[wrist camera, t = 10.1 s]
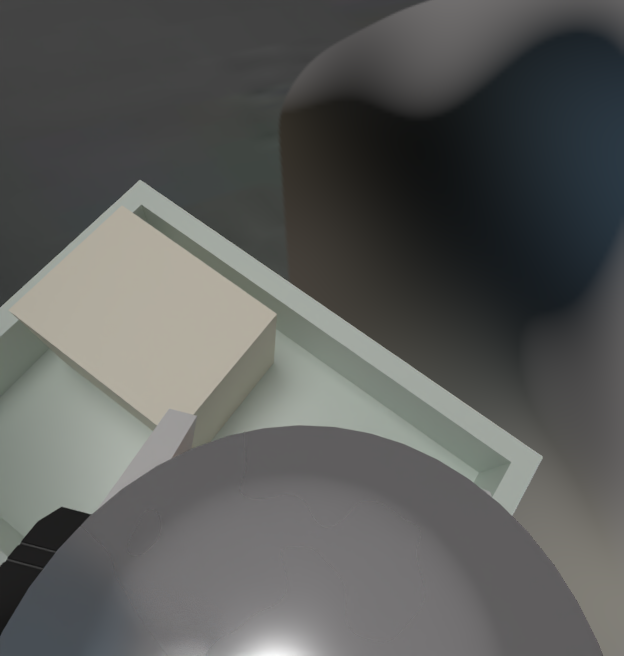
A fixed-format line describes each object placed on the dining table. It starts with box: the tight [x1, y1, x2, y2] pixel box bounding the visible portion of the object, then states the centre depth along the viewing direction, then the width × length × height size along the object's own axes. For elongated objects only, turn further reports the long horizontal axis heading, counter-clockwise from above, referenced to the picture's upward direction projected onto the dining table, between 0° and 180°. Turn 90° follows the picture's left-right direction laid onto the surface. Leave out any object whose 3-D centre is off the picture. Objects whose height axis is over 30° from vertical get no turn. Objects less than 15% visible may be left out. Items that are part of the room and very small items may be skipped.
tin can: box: [0, 425, 603, 656], centre depth 11 cm, size 7×7×12 cm
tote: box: [0, 180, 543, 566], centre depth 23 cm, size 22×16×4 cm
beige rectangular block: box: [9, 206, 277, 448], centre depth 23 cm, size 8×6×6 cm
